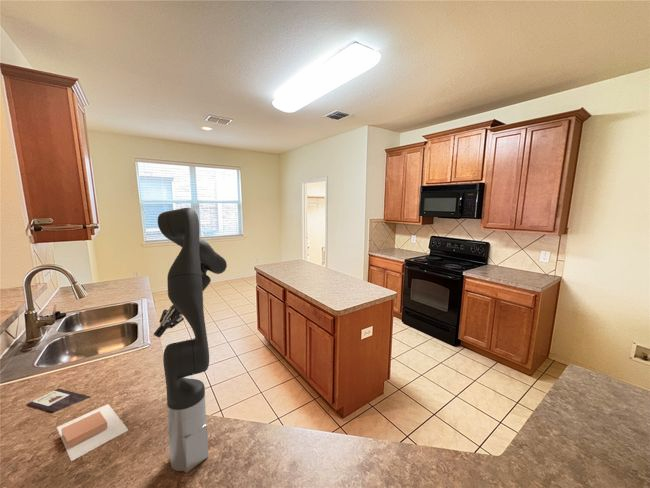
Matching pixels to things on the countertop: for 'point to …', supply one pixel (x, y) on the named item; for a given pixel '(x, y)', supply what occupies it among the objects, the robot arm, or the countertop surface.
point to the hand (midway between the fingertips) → (156, 336)
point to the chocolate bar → (57, 400)
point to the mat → (112, 431)
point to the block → (83, 429)
